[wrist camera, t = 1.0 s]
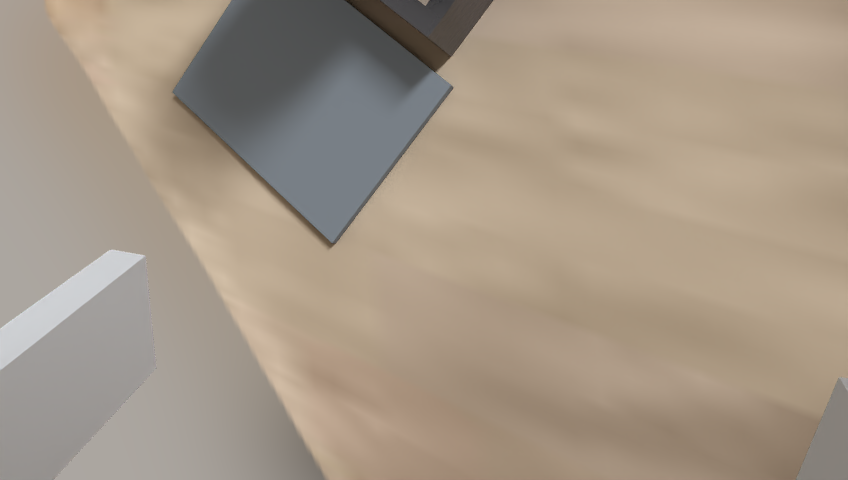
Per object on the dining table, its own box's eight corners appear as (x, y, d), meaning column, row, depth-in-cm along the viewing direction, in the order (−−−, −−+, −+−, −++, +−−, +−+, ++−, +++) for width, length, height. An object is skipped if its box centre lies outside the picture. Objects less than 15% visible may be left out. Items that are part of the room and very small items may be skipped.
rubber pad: (274, -56, 46) (270, -59, 45) (453, 87, 41) (451, 85, 41) (177, 93, 48) (172, 92, 48) (335, 243, 44) (331, 243, 43)
